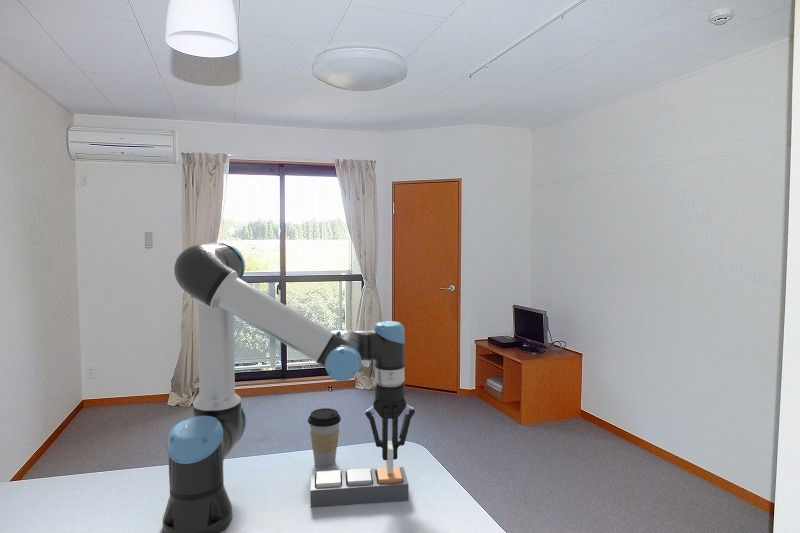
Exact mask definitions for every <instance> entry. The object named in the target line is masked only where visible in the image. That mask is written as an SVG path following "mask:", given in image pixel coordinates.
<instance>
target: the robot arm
mask: <svg viewBox="0 0 800 533" xmlns="http://www.w3.org/2000/svg"><path fill="white" fill-rule="evenodd" d="M245 270H246V261H245V258H244V257H243V255H242V253H241V251H240V250H239V249H237V248H236V247H235V246H234V245H232V244H228V243H226V242H219V241H214V242H213V241H212V242H208V243H202V244H201V243H200V244H195V245H191V246H189V247H187V248H185V249H184V250H183V251H182V252H181V253H180V254H179V255H178V256H177V258H176V260H175V263H174V269H173V271H174V277H175V280H176V282H177V284H178V285H179V286H180V288H181V289H182V290H183V291H185V293H187V294H188V295H190V298H191V300H193V301H194V302H195V303H196V305H197V334H198V335H197V337H198V342H197V343H198V383H199V384H198V386H199V387H198V389H199V390H198V392H199V396H198V397H197V398H196V399H195V400H194V401H193V403H192V409H193V410H192V413H193V414H192V415H193V416H192V417H189V418H187V420H185V419H184V420H181V421H180V422H178V423H177V424H175V425H174V426H173V427H172V428H171V430H170V432H169V433H168V438H167V439H168V440H167V446H166V447H167V457H168V458H167V460H168V477H169V479H168V480H169V482H168V483H169V497H168V501H167V504H166V507H165V509H164V513H163V517H162V533H221V532H222V531H223V530H224V529H226V528H227V527H228V526H229V524H230V523H231V522H232V519H233V505H232V502H231V500H230V498H229V495H228V492H227V490H226V488H225V483H224V461H225V459H226V457H228V455H229V454H230V453H231V451H232V449H233V448H234V447H235V446H236V444H237V443H238V442H239V441H240V440H241V438H242V436H243V435H244V432H245V430H246V426H247V413H246V411H245V409H244V407H243V406H242V398H241V396H239V394H237V393H236V388H235V387H236V384H235V383H236V381H235V380H236V379H235V378H236V377H235V376H236V375H235V374H236V373H235V371H236V370H235V317H237V318H239V319H240V320H242V321H244V322H246V323H248V324H249V325H251V326H253V327H254V328H256V329H257V330H259V331H261V332H263V333H265V334H266V335H268V336H270V337H272V338H273V339H275V340H277V341H278V342H280V343H283V345H285V346H287V347H289V348H291V349H293V350H295V351H296V352H298V353H300V354H301V355H303V356H305V357H306V358H308V359H310V360H312V361H314V362H315V363H316V364H319V365H320V366H321V367H324V368H325V371H326V373H327V375H328V376H329V377H330V378H332V379H333V380H335V381H338V382H347V381H350V380H352V379H353V378H354V377H355V376H356V374H358V372H359V370H360V369H361V365H362V361H375V362H374V366H375V367H374V381H375V385H374V401H373V404H372V406H370V407H369V408H365V409H364V413H365V416H366V418H367V419H368V420H369V424H370V427H371V431H372V436H373V439H374V443H375V446H376V447H377V448H381V451H382V452H381V457H382V460H383V461H386V462H385V463H386V464H385V465H386V466H385V467H386V469H387V474H392V473H393V467H394V460H397V459H398V450H399V447H401V446H403V447H404V446H405V443H406V440H407V435H408V433H409V432H408V431H409V428H410V423H411V420H412V417H413V416H414V414H415V413H416V411H415V408H414V406H412V405H409V404H408V403H407V400H406V399H405V390H406V389H405V387H406V386H405V383H404V382H405V362H406V361H405V355H406V347H405V346H406V340H405V339H406V338H405V326H404V325H403V324H402V323H401V322H399V321H394V320H386V321H379V322H376V323H375V325H374V329H371V330H369V329H368V330H365V329H363V330H361V329H360V330H357V329H355V330H354V329H353V330H345V329H340V330H339V329H338V330H331V331H330V330H328V329H327V328H325V327H324V326H322V325H320V324H318V323H316V322H315V321H314V320H311V319H310V318H308V317H306V316H305V315H303V314H302V313H300V312H298V311H297V310H294V309H293V308H291V307H289V306H288V305H286V304H284V303H282V302H280V301H279V300H277V299H276V298H274V297H272V296H270V294H266V293H265V292H264V291H262V290H260V289H259V288H258V287H257V288H256V287H255V286H253V285H251V284H250V283H248V282H246V281H244V280H243V279H242V278H243V276H244V274H245ZM375 411H376V413H377V414H378V415H379V417H380V418H381V439H380V436H379V432H378V428H377V424H376V420H375V417H374V416H375V415H376V414H375ZM403 412H404V413H405V414H404V416H403V421H402V424H401V429H400V433H399V431H398V430H399V426H398V425H399V424H398V423H399V418H400V416H401V414H402V413H403ZM390 419H391V444H388V442H389V441H388V440H389V438H388V437H389V436H388V435H389V434H388V432H389V430H388V428H389V420H390ZM398 434H399V435H398Z"/></svg>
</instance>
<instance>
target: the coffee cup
mask: <svg viewBox="0 0 800 533" xmlns="http://www.w3.org/2000/svg"><path fill="white" fill-rule="evenodd" d="M341 420H342V418H341V415H340V414H339V412H338V410H336V409H334V408H328V407H326V408H319V409H318V408H317V409H315V410H313V411H311V413H310V415H309V416H308V417H307V423H308V424H309V426H310V439H311V449H312V453H313V461H314V466H315V467H317V468H320V469H328V468H330V467H331V468H332V467H333V466H334V465H335V463H336V459H337V448H338V445H339V444H338V442H339V434H340V432H339V431H340V422H341Z"/></svg>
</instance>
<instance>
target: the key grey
mask: <svg viewBox="0 0 800 533" xmlns="http://www.w3.org/2000/svg"><path fill="white" fill-rule="evenodd" d="M370 469H371V468H370V467H369V468H354V469H351V468H350V469H347V484H348V486H354V485H369V484H372V479H371V472H370Z"/></svg>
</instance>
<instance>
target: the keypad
mask: <svg viewBox="0 0 800 533" xmlns="http://www.w3.org/2000/svg"><path fill="white" fill-rule="evenodd" d="M398 467H399V468H400V471H401V475H402V482H400V483H385V484H378V480H377V468H370V472H371V479H372V484H369V485H354V486H348V484H347V470H348V469H347V470H340V479H341V486H338V487H323V488H316V480H317V471H316V472H314V471H313V472H311V477H310V478H311V480H310V491H309V492H310V494H309V495H310V500H309V501H310V509H313V508H314V509H315V508H326V507H342V506H355V505H357V506H358V505H370V504H383V503H385V504H386V503H399V502H409V490H410V487H409V485H410V484H409V481H408V478H407V474H406V471H405V467H404V466H398Z"/></svg>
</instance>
